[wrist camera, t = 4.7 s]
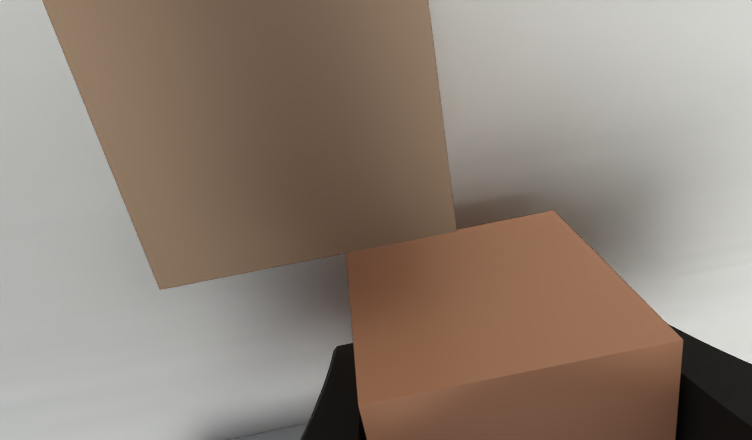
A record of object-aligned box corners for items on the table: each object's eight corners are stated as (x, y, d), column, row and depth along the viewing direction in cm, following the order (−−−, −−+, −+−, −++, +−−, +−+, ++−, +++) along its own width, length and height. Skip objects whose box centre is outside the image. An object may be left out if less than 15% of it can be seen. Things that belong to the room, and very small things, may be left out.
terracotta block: (382, 409, 15) (408, 602, 10) (345, 251, 13) (358, 405, 8) (560, 373, 15) (666, 549, 10) (553, 210, 13) (682, 339, 8)
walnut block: (216, 184, 13) (160, 290, 9) (145, -34, 11) (24, -43, 7) (412, 146, 13) (456, 231, 9) (378, -78, 11) (413, -117, 7)
